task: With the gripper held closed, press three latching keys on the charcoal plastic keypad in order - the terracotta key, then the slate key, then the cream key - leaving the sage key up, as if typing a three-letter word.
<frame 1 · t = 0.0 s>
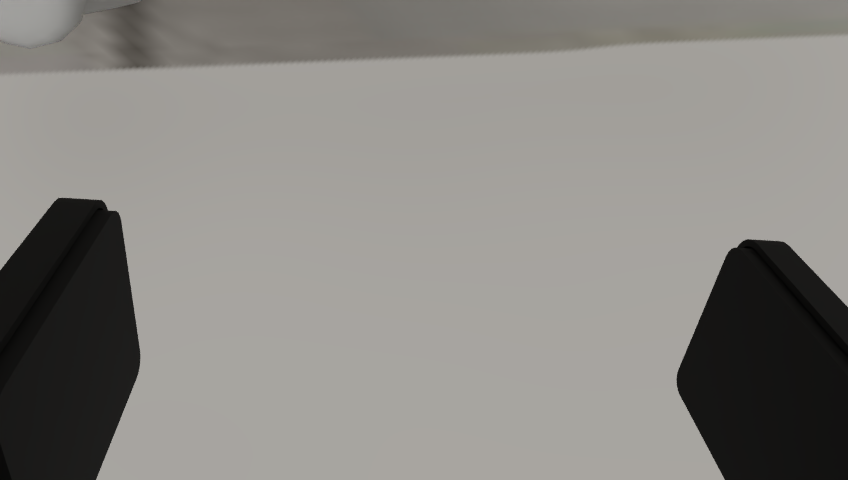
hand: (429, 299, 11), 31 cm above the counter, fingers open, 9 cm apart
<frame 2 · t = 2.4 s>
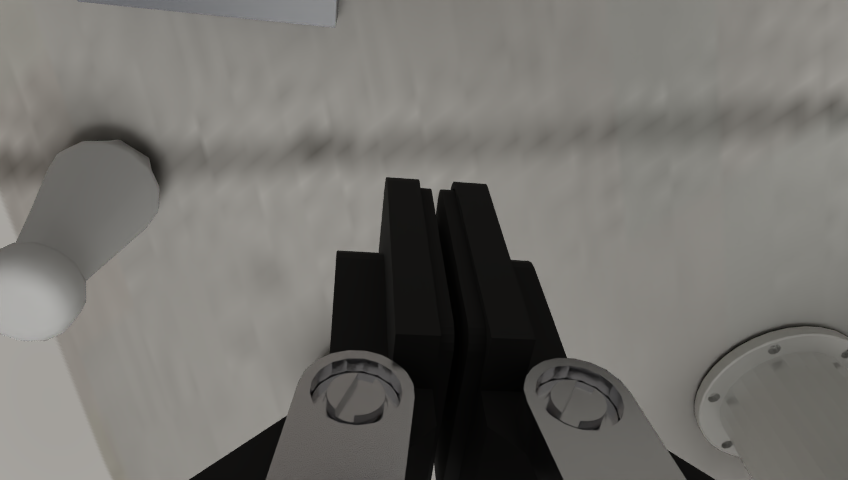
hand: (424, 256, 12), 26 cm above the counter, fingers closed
salt shaker: (119, 171, 39), on the counter
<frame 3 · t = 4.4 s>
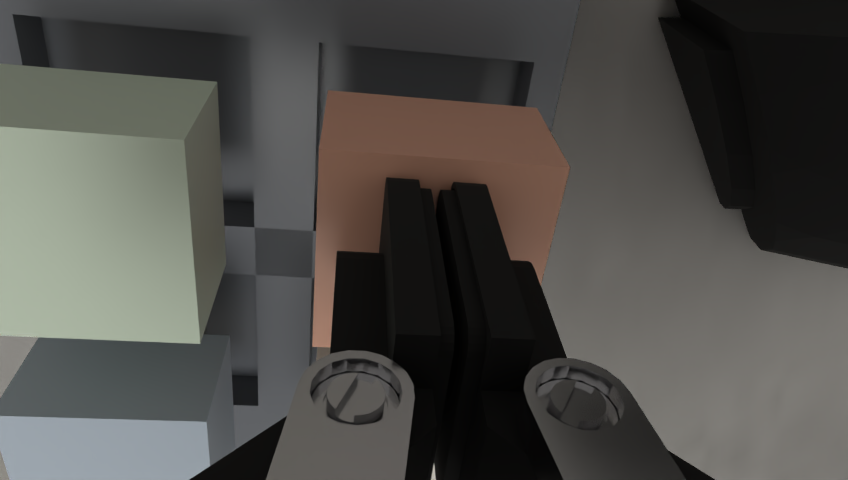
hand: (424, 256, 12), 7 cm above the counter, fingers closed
keypad base: (292, 209, 19), on the counter
slate key: (139, 417, 16), point 5 cm above the counter, slide at 0.0 cm
sage key: (104, 189, 13), point 5 cm above the counter, slide at 0.0 cm
terracotta key: (424, 209, 13), point 5 cm above the counter, slide at 0.1 cm, touching gripper
cream key: (397, 425, 16), point 5 cm above the counter, slide at 0.0 cm
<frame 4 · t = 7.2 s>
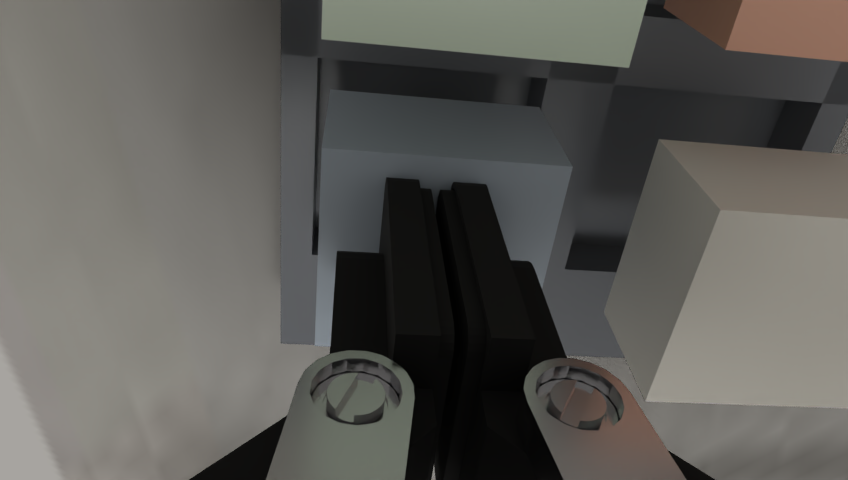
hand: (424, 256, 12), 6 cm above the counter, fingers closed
keypad base: (563, 18, 15), on the counter
slate key: (427, 208, 13), point 4 cm above the counter, slide at 1.1 cm, touching gripper
cream key: (740, 257, 13), point 5 cm above the counter, slide at 0.0 cm
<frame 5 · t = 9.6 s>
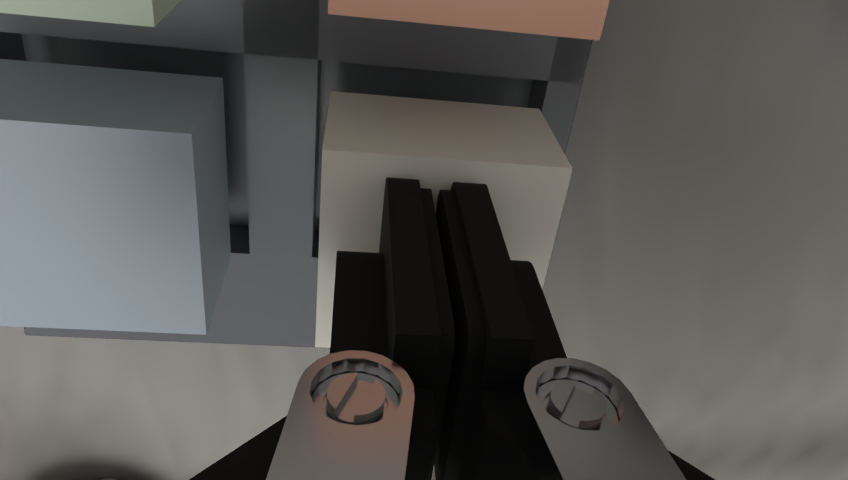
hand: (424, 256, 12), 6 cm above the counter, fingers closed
slate key: (112, 183, 13), point 3 cm above the counter, slide at 1.4 cm
cream key: (427, 209, 13), point 4 cm above the counter, slide at 1.2 cm, touching gripper
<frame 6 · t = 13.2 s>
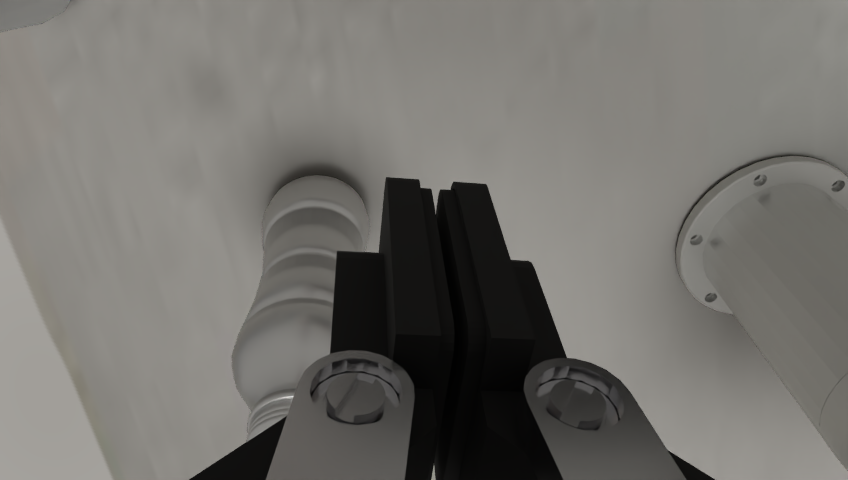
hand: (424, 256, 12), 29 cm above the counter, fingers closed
plastic bottle: (319, 206, 44), on the counter
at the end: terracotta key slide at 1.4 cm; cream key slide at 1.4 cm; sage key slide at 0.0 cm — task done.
